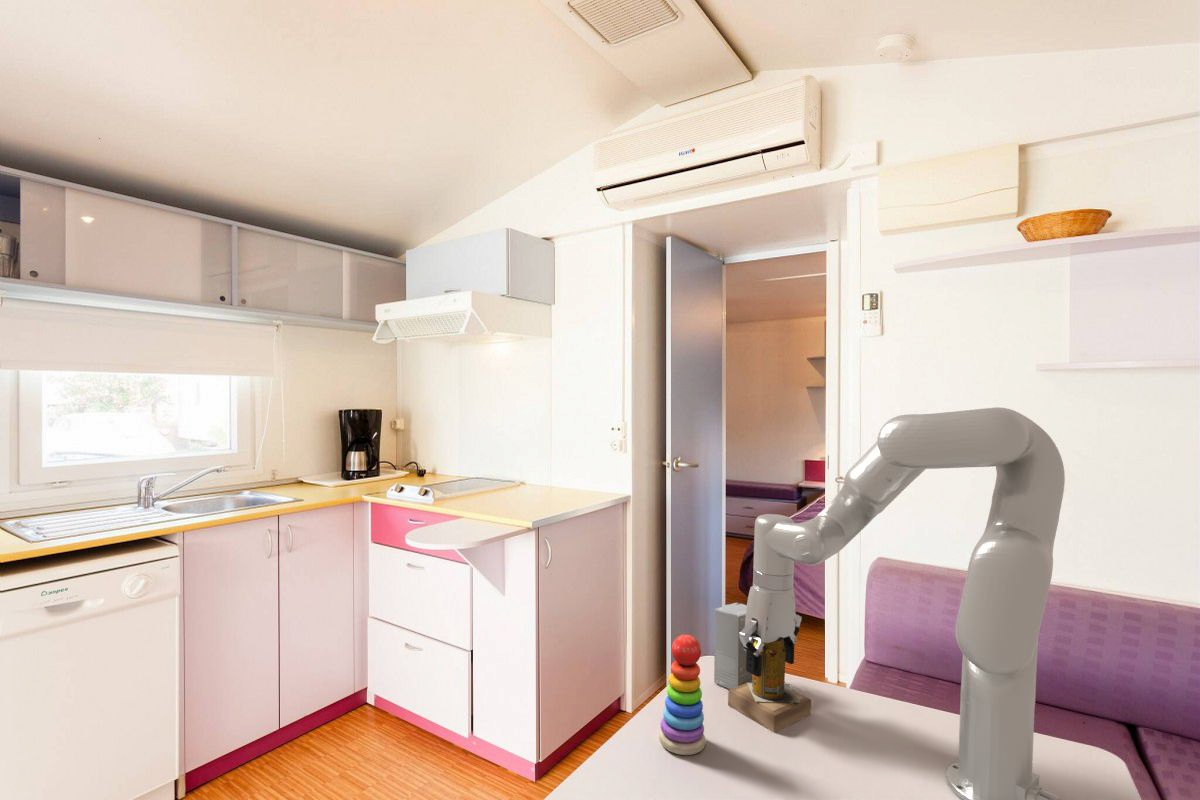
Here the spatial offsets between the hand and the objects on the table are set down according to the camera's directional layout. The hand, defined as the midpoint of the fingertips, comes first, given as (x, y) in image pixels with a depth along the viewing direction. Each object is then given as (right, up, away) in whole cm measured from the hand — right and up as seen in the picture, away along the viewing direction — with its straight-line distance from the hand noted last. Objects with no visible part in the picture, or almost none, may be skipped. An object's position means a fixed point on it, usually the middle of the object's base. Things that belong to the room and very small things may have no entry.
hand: (770, 667), depth 115 cm
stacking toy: (-19, -8, -12) cm, 24 cm away
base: (0, -8, 0) cm, 8 cm away
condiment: (+1, -5, 0) cm, 5 cm away
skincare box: (-4, -8, +11) cm, 14 cm away
